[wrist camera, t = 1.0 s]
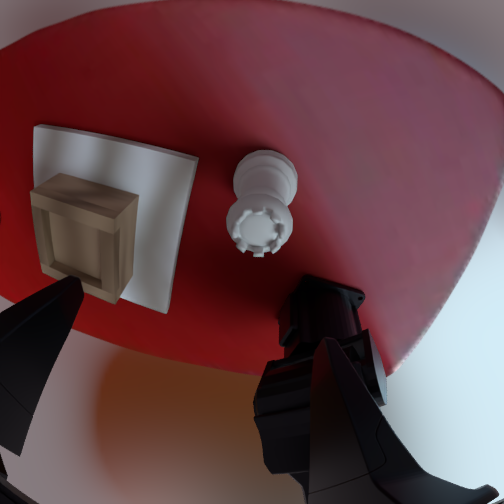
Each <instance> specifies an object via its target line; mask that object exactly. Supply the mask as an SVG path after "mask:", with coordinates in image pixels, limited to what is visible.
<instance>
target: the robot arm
mask: <svg viewBox="0 0 504 504" xmlns="http://www.w3.org/2000/svg"><path fill="white" fill-rule="evenodd" d="M306 280H308V281H309V282H305V281H306ZM360 296H361V297H360ZM358 297H360V298H358ZM83 298H84V291H83V287H82V283H81V279H80V278H79V277H77V276H74V275H69V276H67V277H65V278H63V279H61V280H59V281H57V282H55V283H53V284H51V285H49V286H47V287H45V288H44V289H42V290H40V291H38V292H36V293H34V294H32V295H31V296H29V297H27V298H25V299H23V300H22V301H20V302H18V303H16V304H15V305H13V306H11V307H9V308H8V309H6V310H4V311H2V312H1V313H0V445H1V446H3V447H4V448H6V449H8V450H9V451H11V452H12V453H14V454H16V455H18V456H20V455H21V452H22V449H23V445H24V442H25V439H26V436H27V433H28V430H29V426H30V424H31V421H32V418H33V415H34V412H35V409H36V406H37V404H38V401H39V399H40V396H41V394H42V391H43V389H44V386H45V384H46V382H47V379H48V377H49V375H50V372H51V370H52V368H53V366H54V363H55V361H56V359H57V357H58V355H59V353H60V351H61V349H62V347H63V345H64V342H65V340H66V338H67V336H68V334H69V332H70V330H71V328H72V325H73V323H74V320H75V318H76V315H77V313H78V311H79V308H80V306H81V303H82V301H83ZM364 300H365V294H364V292H361V291H358V290H355V289H352V288H348V287H345V286H342V285H338V284H335V283H332V282H329V281H325V280H322V279H319V278H316V277H312V276H309V275H305V276H303V277H302V278H301V280H300V282H299V284H298V285H297V287H296V289H295V291H294V293H291V294H289V296H288V298H287V300H286V301H285V303H284V305H283V307H282V309H281V310H280V317H279V319H278V324H279V345H280V346H281V347H284V358H283V359H279V360H276V361H275V360H272V361H268V362H267V365H266V367H265V370H264V373H263V375H262V378H261V380H260V383H259V385H258V388H257V390H256V393H255V396H254V401H253V405H254V413H255V416H254V421H255V423H256V425H257V428H258V430H259V433H260V437H261V441H262V448H263V458H264V463H265V465H266V467H267V468H268V470H269V471H270V472H271V473H272V474H289V475H290V476H291V477H292V478H293V479H294V480H295V481H296V482H297V483H298V484H300V486H301V487H302V491H303V495H304V500H305V504H487V503H489V502H490V501H492V500H494V499H495V498H497V497H498V496H499V493H498V491H497V490H496V489H495V488H493V487H491V486H489V485H484V486H481V487H479V488H477V489H467V488H464V487H461V486H458V485H456V484H453V483H450V482H448V481H445V480H443V479H440V478H438V477H435V476H433V475H431V474H429V473H427V472H426V471H424V470H423V469H422V468H421V467H420V465H419V464H418V463H417V462H416V460H415V459H414V458H413V457H412V455H411V454H410V453H409V451H408V450H407V449H406V447H405V446H404V445H403V443H402V442H401V441H400V439H399V438H398V437H397V435H396V434H395V432H394V431H393V430H392V428H391V426H390V425H389V423H388V421H387V420H386V418H385V417H384V415H382V412H381V410H380V407H381V406H384V405H386V404H387V387H386V376H385V372H384V368H383V364H382V360H381V357H380V354H379V352H378V350H377V347H376V345H375V343H374V340H373V338H372V336H371V333H370V331H369V329H366V330H363V331H362V328H361V324H360V320H359V316H358V312H357V309H358V308H359V307H360V305H361V304H362V303H363V301H364ZM7 476H8V475H7V472H6V470H5V467H4V464H3V461H2V457H1V454H0V504H39V503H37V502H36V501H34V500H32V499H31V498H30V497H28V496H27V495H25V494H24V493H22V492H21V491H19V490H18V489H17V488H16V487H14V486H13V485H12V484H10V483H9V482H8V481H7ZM492 504H504V499H502V500H499V501H497V502H495V503H492Z"/></svg>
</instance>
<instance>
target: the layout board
mask: <svg viewBox="0 0 504 504" xmlns="http://www.w3.org/2000/svg"><path fill="white" fill-rule="evenodd" d="M198 160H199V158H198V157H195V156H191V155H188V154H184V153H180V152H176V151H173V150H169V149H165V148H161V147H157V146H153V145H148V144H144V143H140V142H136V141H131V140H127V139H122V138H117V137H113V136H108V135H103V134H98V133H92V132H87V131H81V130H76V129H70V128H64V127H57V126H50V125H43V124H40V125H38V126H35V127H34V137H33V172H34V189H33V190H31V191H30V196H31V206H32V215H33V223H34V230H35V236H36V242H37V248H38V253H39V258H40V263H41V268H42V272H43V273H45V274H47V275H49V276H51V277H53V278H55V279H57V280H61V279H63V278H65V277H67V276H69V275H74V276H77V277H79V278H80V279H81V283H82V287H83V291H84V292H86V293H88V294H91V295H93V296H95V297H98V298H100V299H103V300H105V301H108V302H110V303H113V304H116V302H117V301H118V299H119V297H120V298H123V299H126V300H128V301H131V302H134V303H136V304H139V305H142V306H145V307H147V308H150V309H153V310H156V311H159V312H162V313H165V314H167V311H168V309H169V305H170V299H171V292H172V286H173V280H174V274H175V268H176V262H177V257H178V251H179V246H180V241H181V236H182V231H183V226H184V221H185V216H186V212H187V207H188V202H189V198H190V194H191V189H192V185H193V181H194V177H195V172H196V168H197V164H198Z"/></svg>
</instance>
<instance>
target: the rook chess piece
mask: <svg viewBox="0 0 504 504" xmlns="http://www.w3.org/2000/svg"><path fill="white" fill-rule="evenodd" d="M233 185H234V192H235V194H236V196H237V198H238V200H237V201H236V202H235V203H234V204H233V205H232V206H231V207H230V209H229V212H228V215H227V217H226V222H227V230H228V232H229V234H230V236H231V239H233V241H235V242H236V243H237V245H236V247H237V248H238V249H239V250H240V251H242V252H243V253H244V252H245V251H246V250H250V251H253V252H254V255H253V257H264V252H268V251H271V252H272V253H273V254H274V253H275V252H276V251H277V250H279V249H280V248H281V245H283V244H284V243H285V242H286V241H287V240H288V238H289V236H290V234H291V232H292V226H293V219H292V216H291V214H290V211H289V209H288V207H287V206H288V205H289V204H290V203H291V202H292V200H293V198H294V196H295V194H296V192H297V173H296V170H295V168H294V165H293V164H292V163H291V162H290V161H289V160H288V159H287V158H286V157H285V156H284V155H283V154H280V153H278V152H275V151H273V150H258V151H255V152H253V153H250V154H248V155H246V156H245V157H244V158H243V159H242V160H241V161H240V162H239V163H238V166H237V168H236V171H235V173H234V178H233Z"/></svg>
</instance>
